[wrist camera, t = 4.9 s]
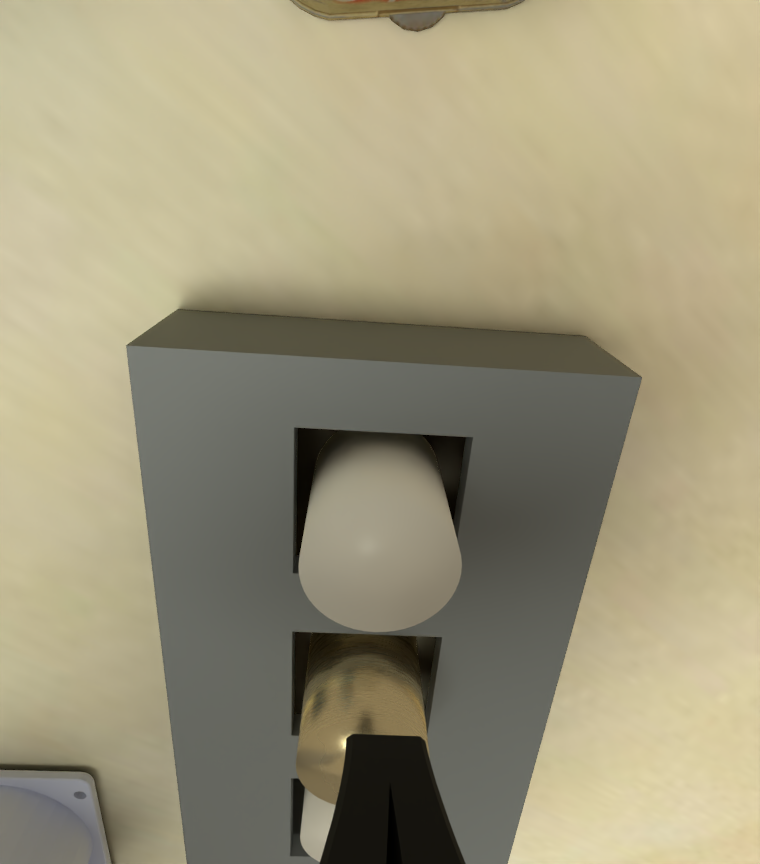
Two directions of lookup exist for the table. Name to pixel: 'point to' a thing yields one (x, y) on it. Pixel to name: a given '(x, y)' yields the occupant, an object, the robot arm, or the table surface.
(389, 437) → the near knob
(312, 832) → the far knob
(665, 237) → the table surface
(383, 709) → the brass knob
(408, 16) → the lighter
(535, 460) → the grey slotted block
